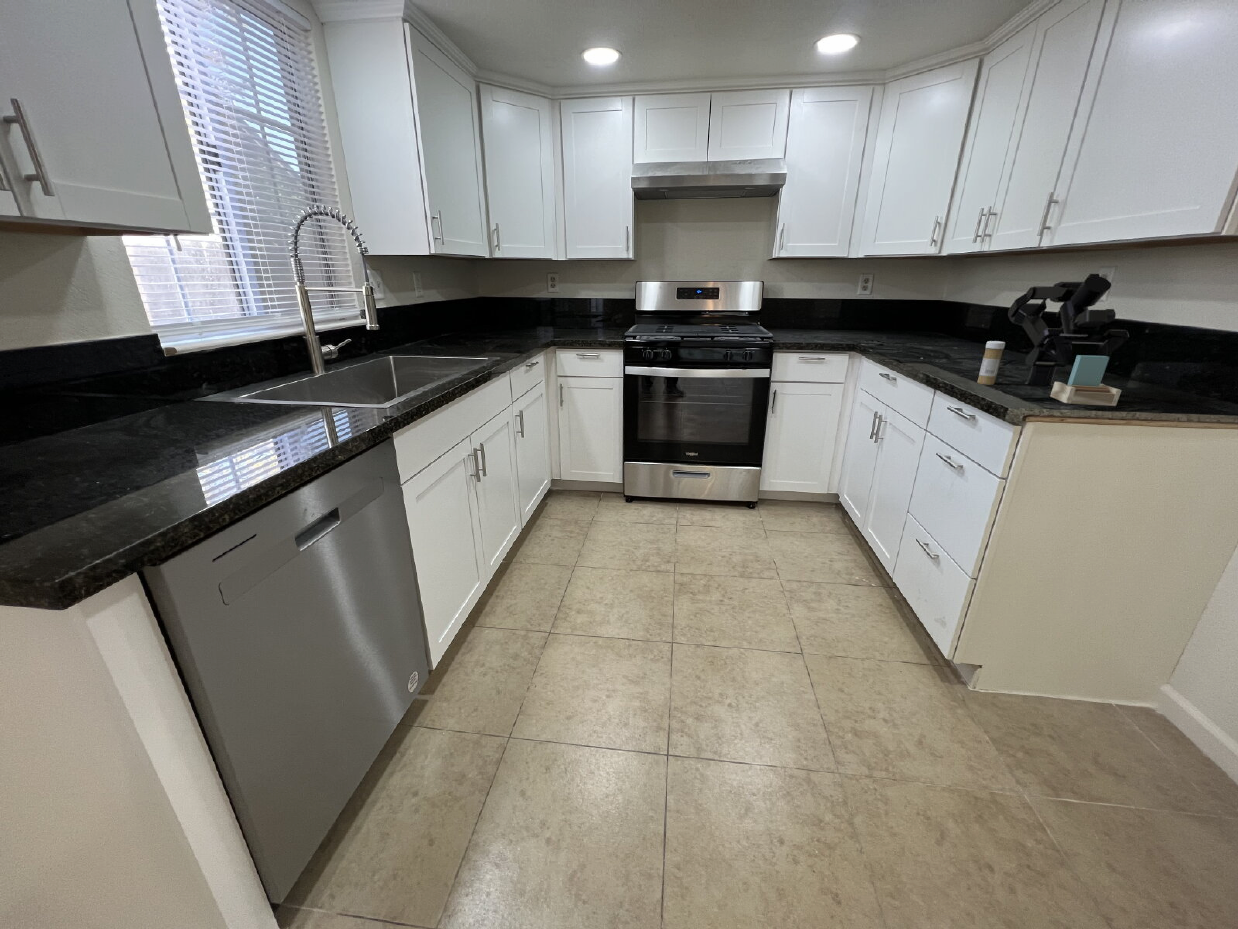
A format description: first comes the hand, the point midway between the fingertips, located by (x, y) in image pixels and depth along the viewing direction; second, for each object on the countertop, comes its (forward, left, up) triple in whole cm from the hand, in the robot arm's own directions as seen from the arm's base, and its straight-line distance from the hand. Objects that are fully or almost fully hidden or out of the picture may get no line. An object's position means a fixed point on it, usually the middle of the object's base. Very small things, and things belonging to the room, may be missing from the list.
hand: (1084, 364), depth 131 cm
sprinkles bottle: (-6, -21, -10) cm, 24 cm away
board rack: (+3, +2, -10) cm, 10 cm away
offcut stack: (+5, +2, -9) cm, 10 cm away
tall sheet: (+2, +1, -9) cm, 9 cm away
